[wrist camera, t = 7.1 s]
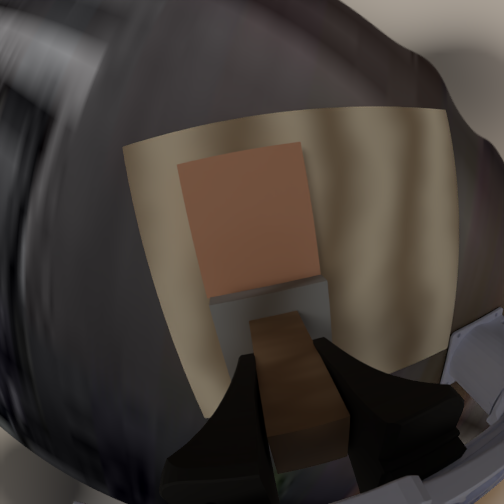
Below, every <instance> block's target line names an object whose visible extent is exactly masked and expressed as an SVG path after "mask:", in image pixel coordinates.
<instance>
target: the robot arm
mask: <svg viewBox="0 0 504 504" xmlns="http://www.w3.org/2000/svg"><path fill="white" fill-rule="evenodd" d="M502 311H503V308H501V307H499V308H497V309H496V310H494V311H492V312H491V313H489V314H487V315H485V316H484V317H482V318H480V319H478V320H476V321H474V322H473V323H471V324H469V325H467V326H465V327H463V328H461V329H459V330H457V331H455V332H454V333H453V334H452V335H451V338H450V344H449V348H448V353H447V358H446V362H445V366H444V370H443V374H442V378H441V382H440V384H434V383H424V382H418V381H413V380H408V379H404V378H400V377H397V376H393V375H390V374H387V373H385V372H382V371H380V370H377V369H375V368H373V367H371V366H369V365H367V364H365V363H363V362H361V361H359V360H358V359H356V358H354V357H353V356H351V355H349V354H348V353H346V352H345V351H343V350H342V349H340V348H339V347H338V346H336V345H335V344H333V343H332V342H331V341H329V340H328V339H327V338H325V337H321V338H317V339H313V344H314V346H315V348H316V350H317V352H318V353H319V354H320V356H321V358H322V360H323V362H324V364H325V366H326V368H327V370H328V372H329V374H330V376H331V378H332V380H333V382H334V384H335V386H336V388H337V390H338V392H339V394H340V396H341V398H342V400H343V402H344V404H345V406H346V408H347V410H348V412H349V414H350V430H349V442H348V455H349V458H350V461H351V464H352V467H353V470H354V473H355V477H356V480H357V483H358V487H359V490H360V494H358V495H356V496H353V497H350V498H346V499H343V500H340V501H337V502H333V503H330V504H474V503H475V502H476V501H478V500H479V499H480V498H481V497H483V496H484V495H485V494H486V493H488V492H489V491H490V490H491V489H492V488H494V487H495V486H496V485H497V484H498V483H499V482H501V481H502V480H503V479H504V316H503V315H502ZM455 381H457V382H458V383H459V384H460V385H461V387H462V388H463V389H464V390H465V391H466V392H467V393H468V394H469V395H470V396H471V397H472V398H473V399H474V400H475V401H476V402H477V403H478V404H479V405H480V406H481V407H482V408H483V409H484V410H485V412H486V413H487V414H488V415H489V417H488V419H487V420H486V421H487V422H488V423H489V424H490V426H489V428H487V429H486V430H485V431H484V432H482V433H481V434H479V435H478V436H477V437H475V438H474V439H472V440H471V441H470V442H468V443H467V444H465V445H464V444H463V443H462V441H461V440H460V439H459V437H458V436H459V434H460V432H459V430H458V429H457V428H456V425H457V423H458V421H459V418H460V416H461V414H462V411H463V408H464V400H463V398H462V397H461V396H460V395H459V394H458V393H457V391H456V390H455V389H453V388H452V387H451V386H450V384H452V383H453V382H455ZM159 491H160V495H161V496H162V498H163V499H164V500H165V501H167V502H168V503H169V504H280V502H279V497H278V493H277V488H276V483H275V478H274V473H273V467H272V462H271V457H270V451H269V443H268V438H267V433H266V427H265V421H264V415H263V409H262V403H261V396H260V390H259V384H258V377H257V371H256V361H255V356H254V353H250V354H245V355H241V356H240V357H239V359H238V363H237V367H236V370H235V373H234V375H233V378H232V380H231V383H230V385H229V387H228V389H227V391H226V393H225V395H224V397H223V399H222V401H221V402H220V404H219V406H218V407H217V409H216V410H215V412H214V413H213V415H212V416H211V417H210V419H209V420H208V421H207V423H206V424H205V425H204V426H203V427H202V429H201V430H200V431H199V432H198V433H197V434H196V435H195V436H194V437H193V438H192V439H191V440H190V441H189V442H188V443H187V444H186V445H184V446H183V447H182V448H181V449H179V450H178V451H177V452H175V453H174V454H173V455H171V456H170V457H168V458H167V459H166V462H165V465H164V468H163V471H162V476H161V482H160V489H159ZM73 504H86V503H82V502H78V501H74V503H73Z"/></svg>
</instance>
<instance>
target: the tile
mask: <svg viewBox="0 0 504 504" xmlns="http://www.w3.org/2000/svg"><path fill="white" fill-rule="evenodd" d="M177 169H178V174H179V179H180V184H181V189H182V194H183V199H184V203H185V208H186V213H187V217H188V222H189V226H190V230H191V235H192V239H193V243H194V248H195V252H196V256H197V260H198V264H199V268H200V272H201V276H202V280H203V284H204V288H205V292H206V295H207V299H208V298H210V297H215V296H221V295H226V294H231V293H236V292H241V291H246V290H251V289H256V288H261V287H266V286H270V285H275V284H280V283H284V282H289V281H294V280H298V279H303V278H307V277H312V276H316V275H321V273H320V264H319V256H318V248H317V240H316V233H315V225H314V219H313V212H312V205H311V199H310V192H309V186H308V180H307V174H306V169H305V163H304V158H303V152H302V147H301V142H294V143H287V144H280V145H273V146H267V147H261V148H255V149H249V150H243V151H238V152H232V153H227V154H222V155H217V156H212V157H208V158H203V159H199V160H194V161H190V162H185V163H181V164H177Z"/></svg>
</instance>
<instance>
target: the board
mask: <svg viewBox="0 0 504 504" xmlns="http://www.w3.org/2000/svg"><path fill="white" fill-rule="evenodd" d="M294 142H301V147H302V152H303V158H304V163H305V169H306V174H307V180H308V186H309V192H310V199H311V205H312V212H313V219H314V225H315V233H316V240H317V248H318V256H319V264H320V273H321V274H322V276H323V277H324V278H325V279H326V280H327V282H328V293H329V304H330V317H331V331H332V343H333V344H335V345H336V346H338V347H339V348H340V349H342V350H343V351H345V352H346V353H348V354H349V355H351V356H353V357H354V358H356V359H358V360H359V361H361V362H363V363H365V364H367V365H369V366H371V367H373V368H375V369H377V370H380V371H382V372H385V373H387V374H390V373H392V372H395V371H397V370H400V369H402V368H405V367H407V366H409V365H412V364H414V363H416V362H419V361H421V360H423V359H425V358H428V357H430V356H432V355H434V354H436V353H438V352H440V351H442V350H444V349H446V348H447V347H448V342H449V337H450V331H451V325H452V319H453V312H454V304H455V296H456V286H457V274H458V256H459V209H458V191H457V179H456V169H455V161H454V154H453V147H452V140H451V135H450V129H449V124H448V119H447V114H446V110H440V109H428V108H413V107H337V108H320V109H308V110H297V111H288V112H279V113H271V114H264V115H257V116H250V117H244V118H238V119H233V120H227V121H222V122H217V123H212V124H207V125H202V126H198V127H193V128H189V129H185V130H181V131H177V132H173V133H169V134H165V135H161V136H158V137H154V138H151V139H147V140H144V141H140V142H137V143H134V144H130V145H127V146H124V147H123V153H124V159H125V165H126V170H127V175H128V181H129V186H130V191H131V195H132V200H133V205H134V209H135V214H136V218H137V222H138V226H139V230H140V234H141V238H142V242H143V246H144V250H145V254H146V257H147V261H148V264H149V268H150V271H151V275H152V278H153V282H154V285H155V288H156V291H157V295H158V298H159V301H160V304H161V307H162V310H163V313H164V316H165V319H166V322H167V325H168V328H169V331H170V333H171V336H172V339H173V342H174V344H175V347H176V350H177V352H178V355H179V358H180V360H181V363H182V365H183V368H184V370H185V373H186V375H187V378H188V380H189V383H190V385H191V388H192V390H193V392H194V395H195V397H196V399H197V402H198V404H199V406H200V408H201V410H202V413H203V415H204V417H205V418H210V417H211V416H212V415H213V413H214V412H215V410H216V409H217V407H218V406H219V404H220V402H221V401H222V399H223V397H224V395H225V393H226V391H227V389H228V387H229V385H230V383H231V379H230V376H229V373H228V370H227V366H226V363H225V360H224V356H223V353H222V350H221V346H220V343H219V339H218V336H217V333H216V329H215V325H214V322H213V318H212V315H211V311H210V307H209V302H210V298H208V299H207V295H206V292H205V288H204V284H203V280H202V276H201V272H200V268H199V264H198V260H197V256H196V252H195V248H194V243H193V239H192V235H191V230H190V226H189V222H188V217H187V213H186V208H185V203H184V199H183V194H182V189H181V184H180V179H179V174H178V169H177V164H181V163H185V162H190V161H194V160H199V159H203V158H208V157H212V156H217V155H222V154H227V153H232V152H238V151H243V150H249V149H255V148H261V147H267V146H273V145H280V144H287V143H294Z"/></svg>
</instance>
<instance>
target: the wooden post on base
mask: <svg viewBox="0 0 504 504" xmlns="http://www.w3.org/2000/svg"><path fill="white" fill-rule="evenodd" d="M209 307H210V311H211V315H212V318H213V322H214V325H215V329H216V333H217V336H218V339H219V343H220V346H221V350H222V353H223V356H224V360H225V363H226V366H227V370H228V373H229V376H230V379H231V380H232V378H233V375H234V373H235V370H236V367H237V363H238V359H239V357H240V356H241V355H245V354H250V353H254V356H255V361H256V371H257V377H258V384H259V390H260V396H261V403H262V409H263V415H264V421H265V427H266V433H267V438H268V442H269V445H270V449H271V452H272V456H273V459H274V463H275V466H276V469H277V473H278V474H279V473H285V472H289V471H294V470H299V469H303V468H307V467H311V466H315V465H319V464H323V463H326V462H330V461H333V460H336V459H340V458H343V457H346V456H347V453H348V442H349V430H350V414H349V412H348V410H347V408H346V406H345V404H344V402H343V400H342V398H341V396H340V394H339V392H338V390H337V388H336V386H335V384H334V382H333V380H332V378H331V376H330V374H329V372H328V370H327V368H326V366H325V364H324V362H323V360H322V358H321V356H320V354H319V353H318V352H317V350H316V348H315V346H314V344H313V339H317V338H321V337H325V338H327V339H328V340H329V341H331V342H332V331H331V317H330V304H329V293H328V282H327V280H326V279H325V278H324V277H323V276H322V274H321V275H316V276H312V277H307V278H303V279H298V280H294V281H289V282H284V283H280V284H275V285H270V286H266V287H261V288H256V289H251V290H246V291H241V292H236V293H231V294H226V295H221V296H215V297H210V302H209Z"/></svg>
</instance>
